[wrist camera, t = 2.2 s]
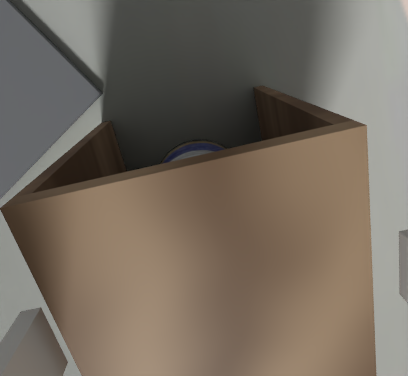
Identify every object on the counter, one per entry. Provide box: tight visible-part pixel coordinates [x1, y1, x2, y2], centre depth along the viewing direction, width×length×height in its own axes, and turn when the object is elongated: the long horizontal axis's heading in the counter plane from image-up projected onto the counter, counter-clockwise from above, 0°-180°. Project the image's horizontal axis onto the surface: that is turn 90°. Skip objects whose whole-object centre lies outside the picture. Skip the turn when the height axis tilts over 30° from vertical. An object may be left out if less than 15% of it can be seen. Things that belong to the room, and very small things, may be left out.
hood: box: [0, 86, 376, 376], centre depth 18 cm, size 11×11×13 cm
